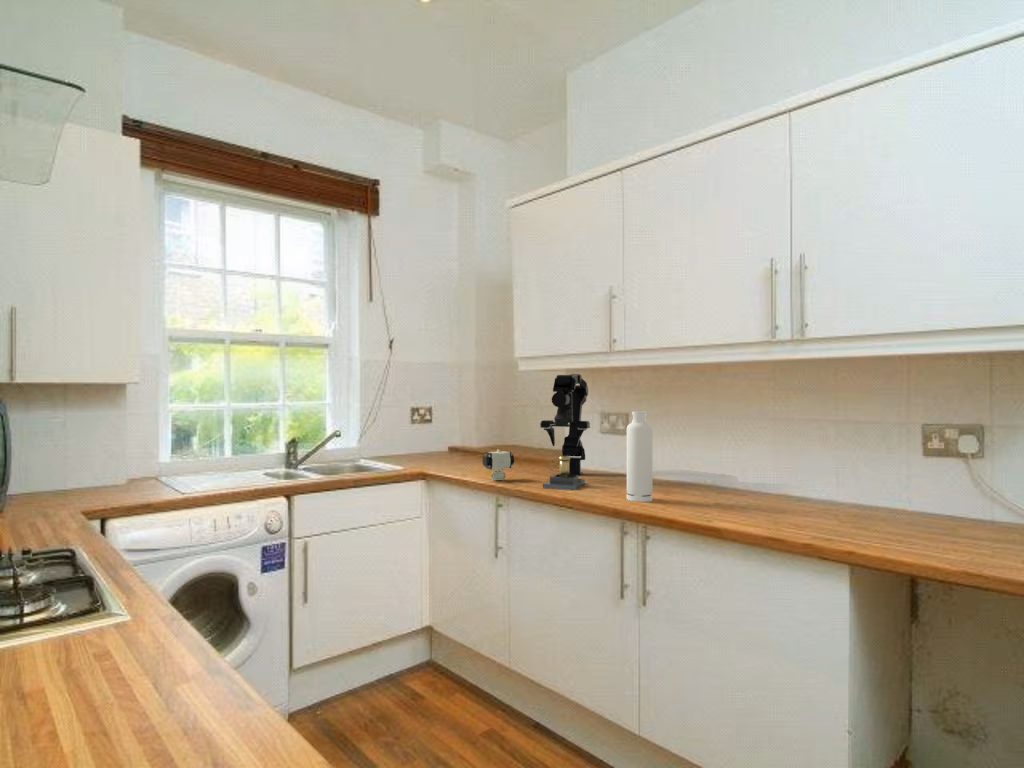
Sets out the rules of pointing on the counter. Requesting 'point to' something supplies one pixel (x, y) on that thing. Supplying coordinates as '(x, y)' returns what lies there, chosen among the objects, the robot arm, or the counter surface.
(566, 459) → the brass coupling
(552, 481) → the plate
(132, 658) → the counter surface
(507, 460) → the pneumatic valve
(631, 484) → the bottle
